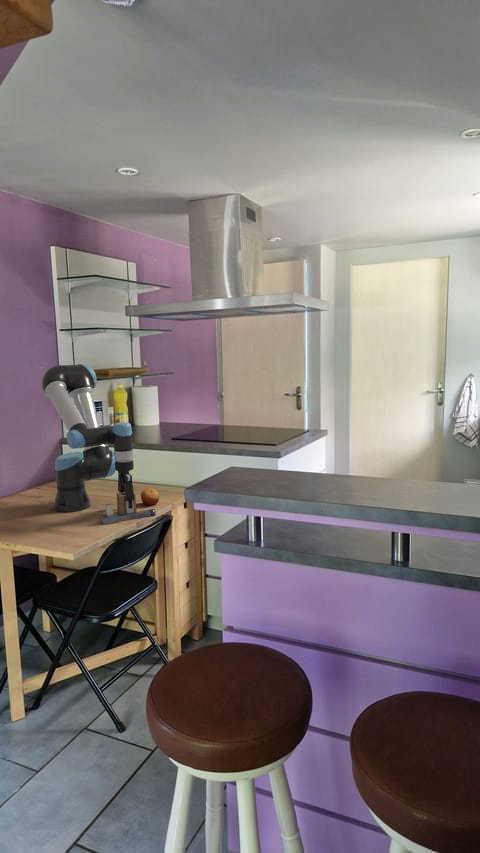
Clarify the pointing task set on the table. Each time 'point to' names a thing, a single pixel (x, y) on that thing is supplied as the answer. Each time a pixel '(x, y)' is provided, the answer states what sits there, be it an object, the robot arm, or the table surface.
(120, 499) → the socket collar
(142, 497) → the fruit
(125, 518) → the grey lever handle
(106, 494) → the table surface
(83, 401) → the robot arm
